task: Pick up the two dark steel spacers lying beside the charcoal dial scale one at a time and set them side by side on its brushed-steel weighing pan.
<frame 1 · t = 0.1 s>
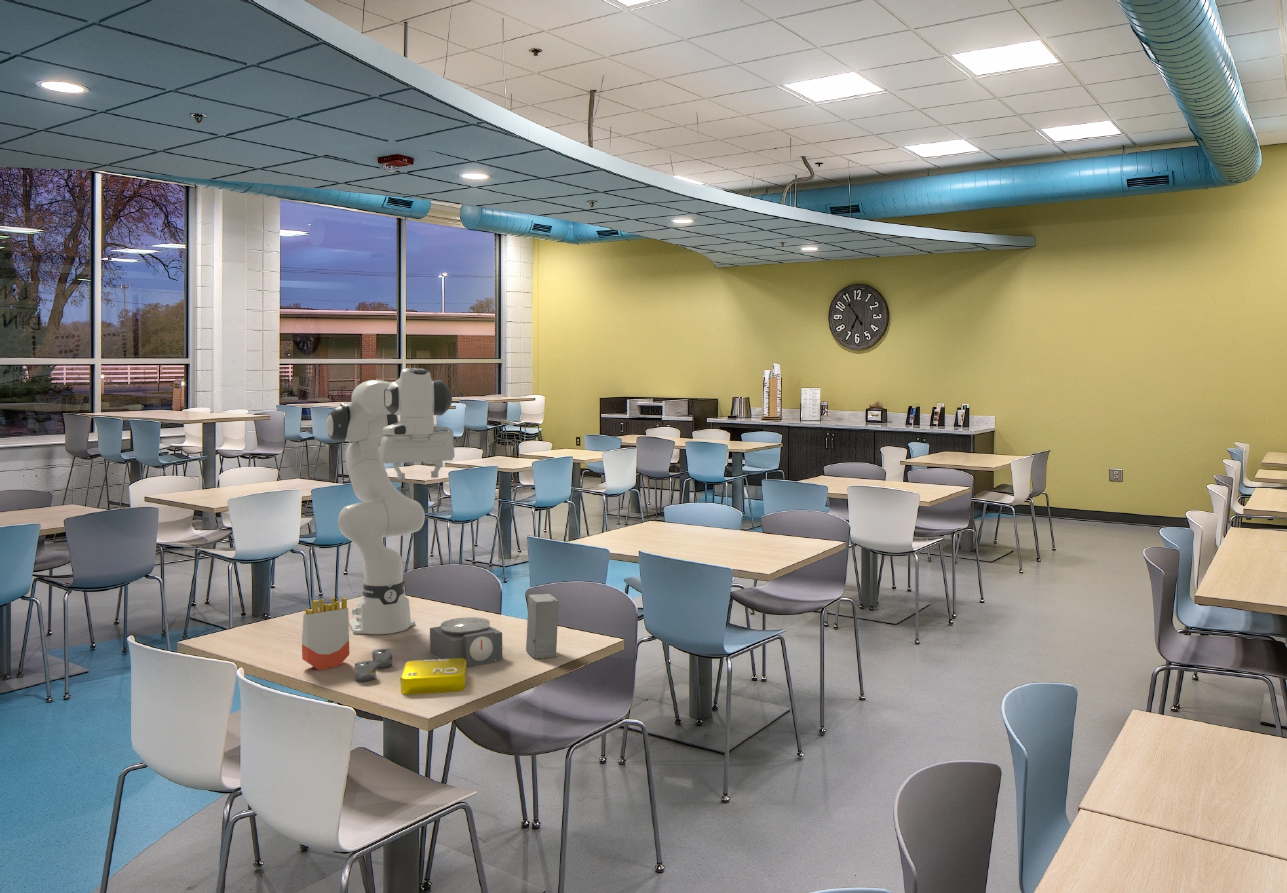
hand: (418, 478, 242), 48 cm above the table, tool pointing down, fingers open, 8 cm apart
skincare box: (542, 655, 242), on the table
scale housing: (466, 655, 241), on the table
scale pan: (465, 625, 241), point 8 cm above the table, slide at -0.5 cm
spacer 2: (382, 666, 232), on the table
spacer 1: (365, 679, 222), on the table
element tile: (434, 685, 218), on the table
french fries container: (326, 666, 233), on the table
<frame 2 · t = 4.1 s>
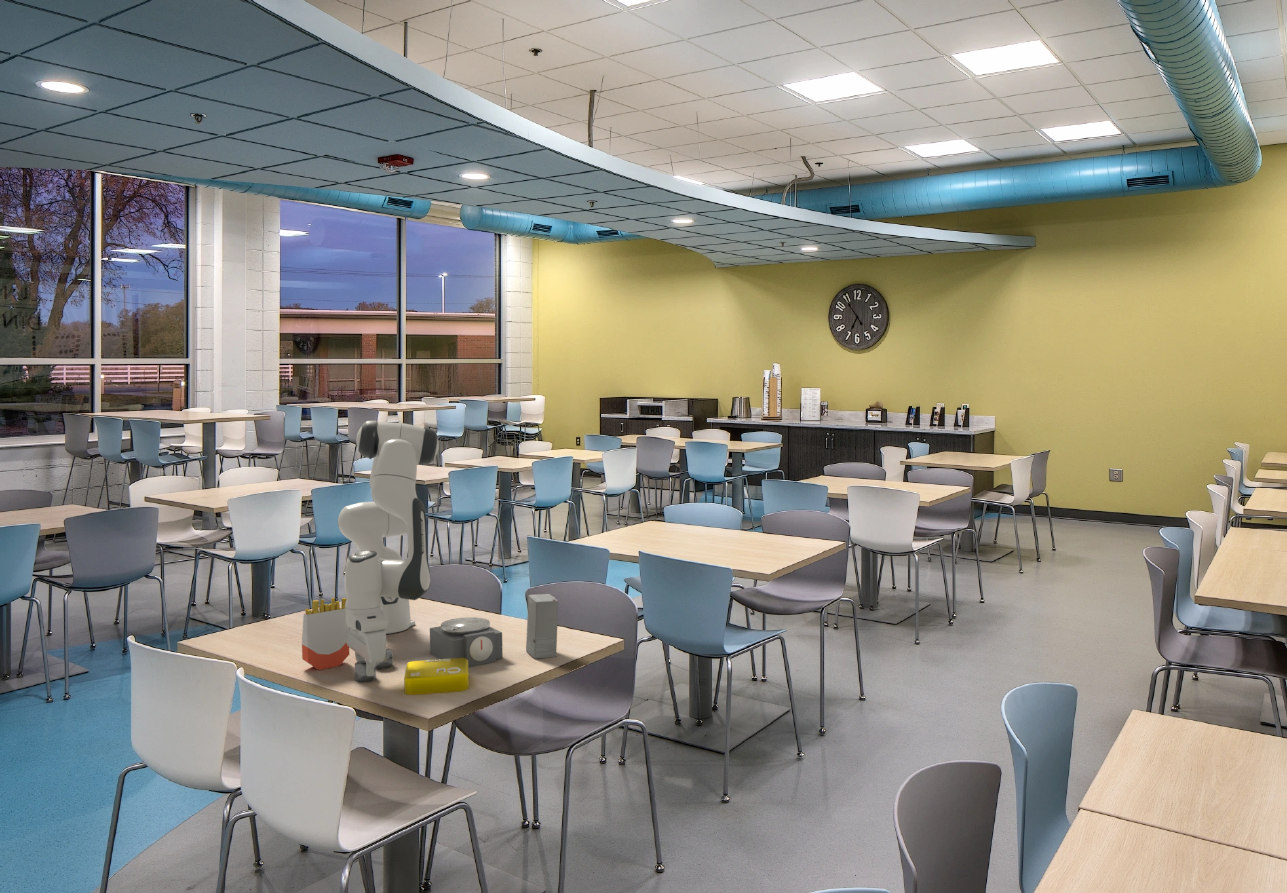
hand: (365, 672, 222), 2 cm above the table, tool pointing down, fingers closed on spacer 1, 5 cm apart
spacer 1: (365, 679, 222), on the table, touching gripper
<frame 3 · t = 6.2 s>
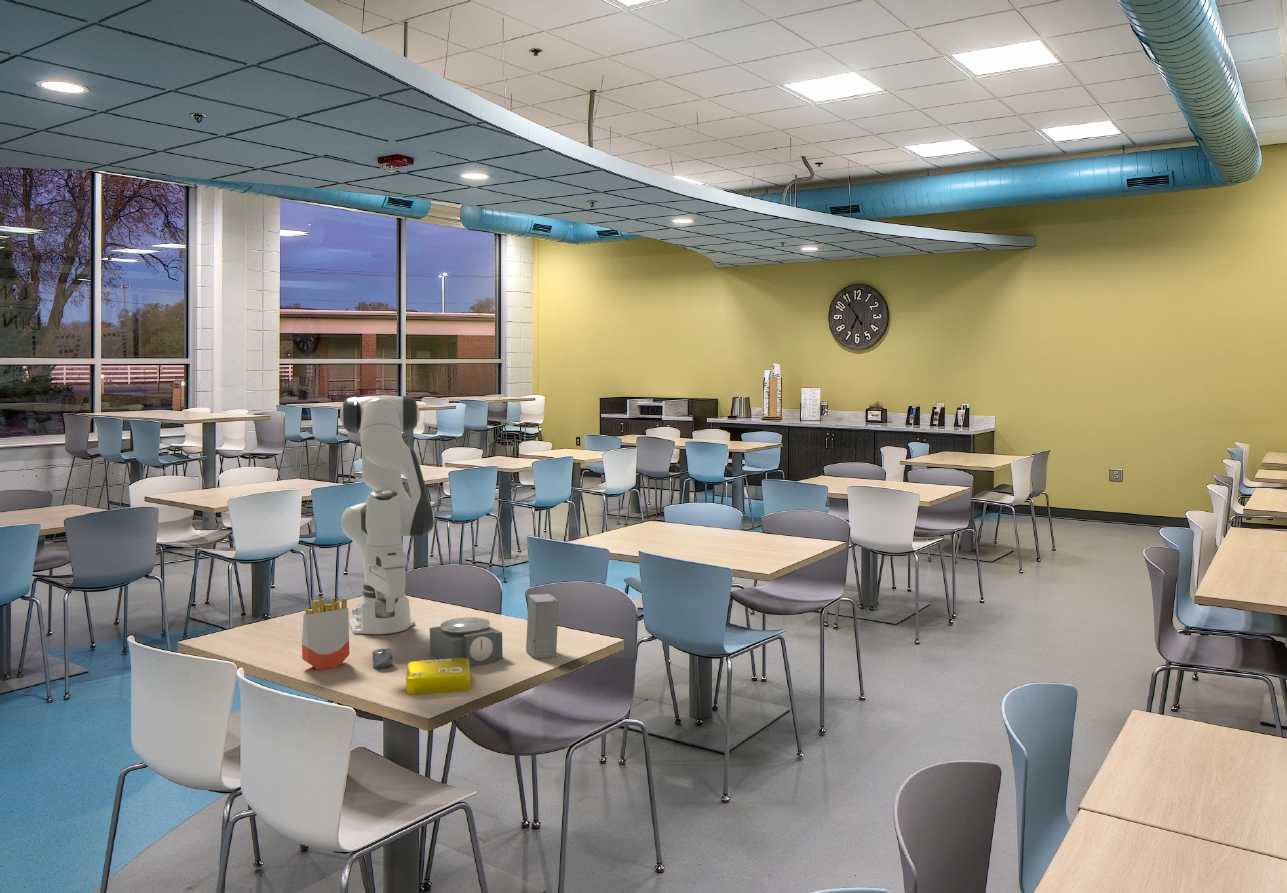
hand: (385, 609, 225), 16 cm above the table, tool pointing down, fingers closed on spacer 1, 5 cm apart
spacer 1: (385, 615, 225), point 15 cm above the table, touching gripper
when the fingers open (12 cm above the table, at t = 8.5 s): spacer 1 drops 2 cm, resting on scale pan.
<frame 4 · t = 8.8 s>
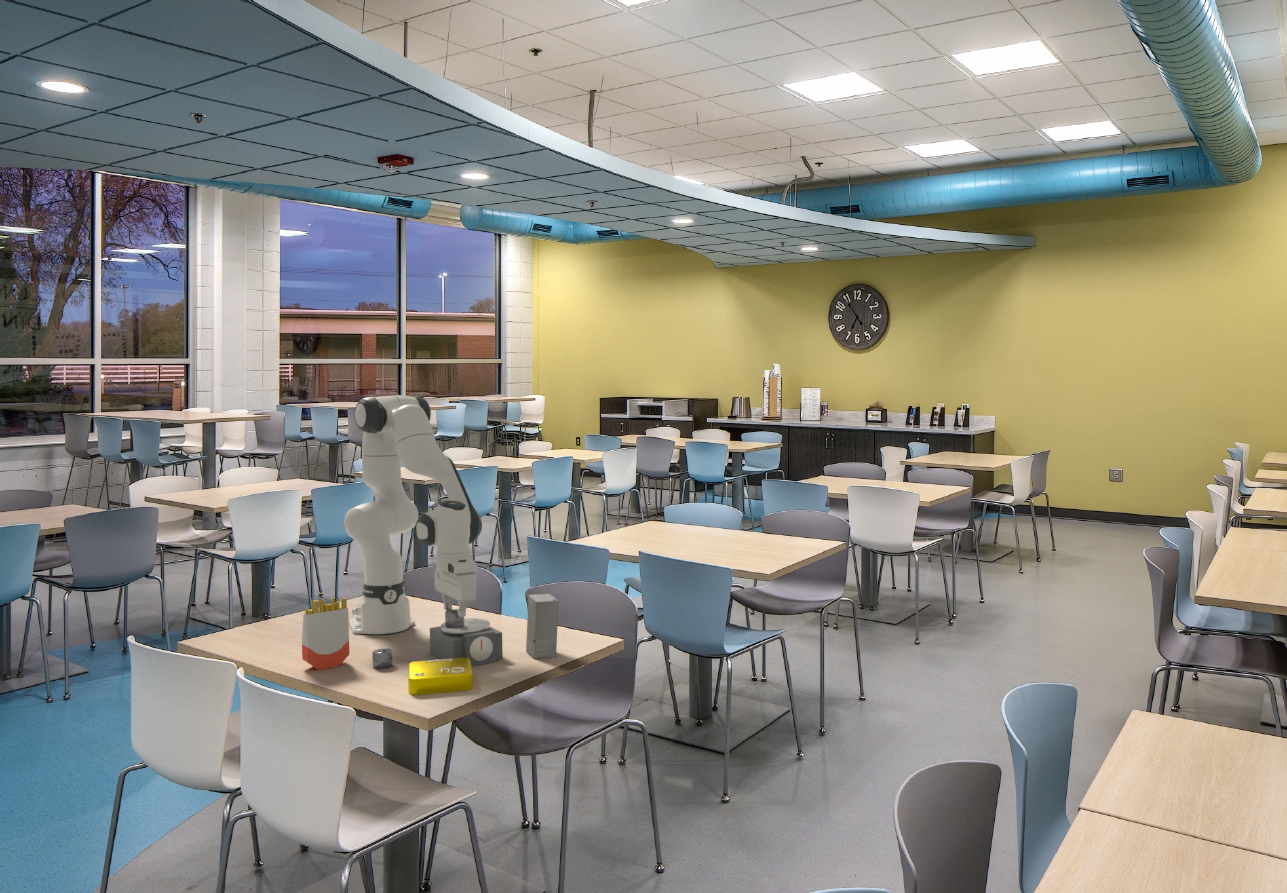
hand: (454, 613, 239), 12 cm above the table, tool pointing down, fingers open, 8 cm apart
scale pan: (465, 626, 241), point 8 cm above the table, slide at -0.8 cm, touching spacer 1
spacer 1: (454, 626, 239), point 9 cm above the table, touching scale pan
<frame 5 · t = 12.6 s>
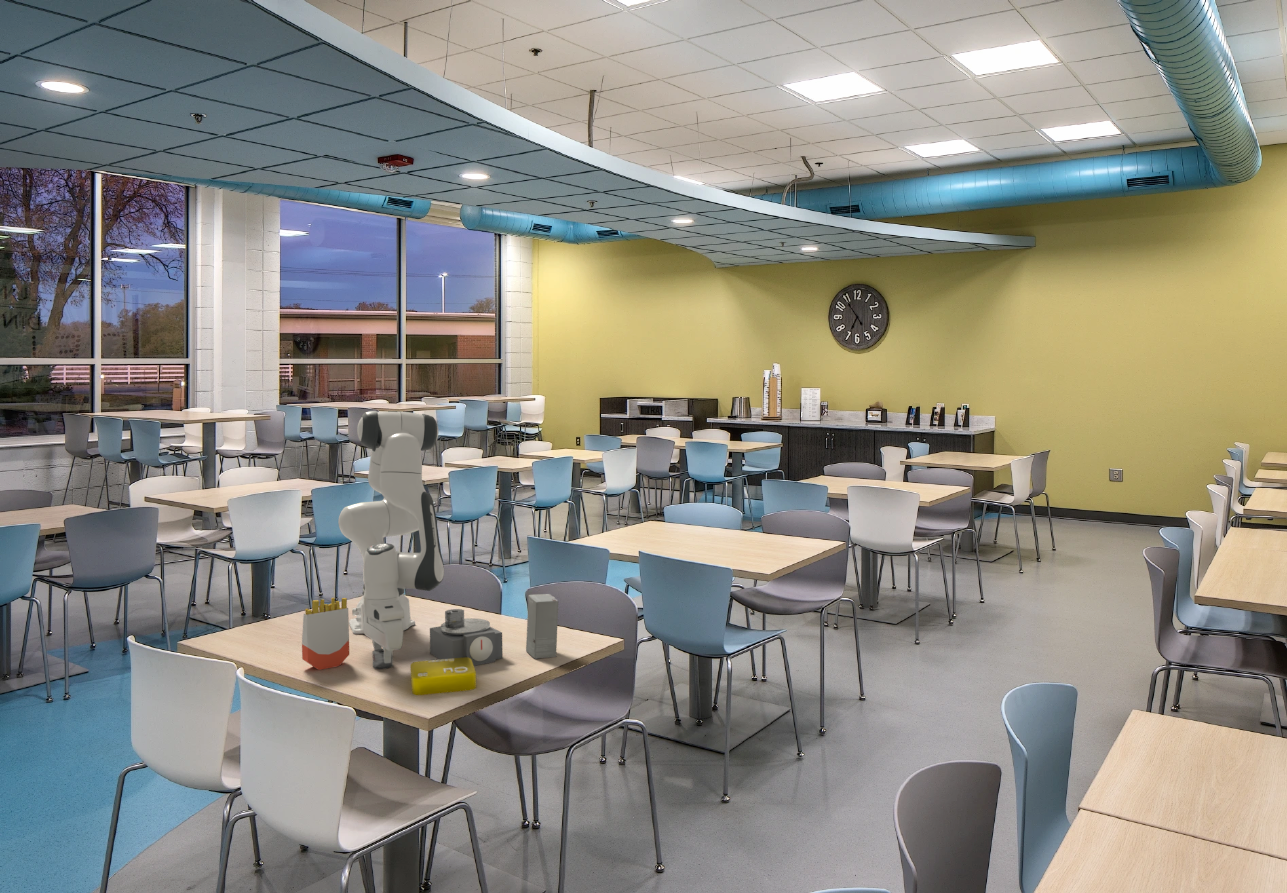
hand: (382, 659, 232), 2 cm above the table, tool pointing down, fingers closed on spacer 2, 5 cm apart
spacer 2: (382, 666, 232), on the table, touching gripper
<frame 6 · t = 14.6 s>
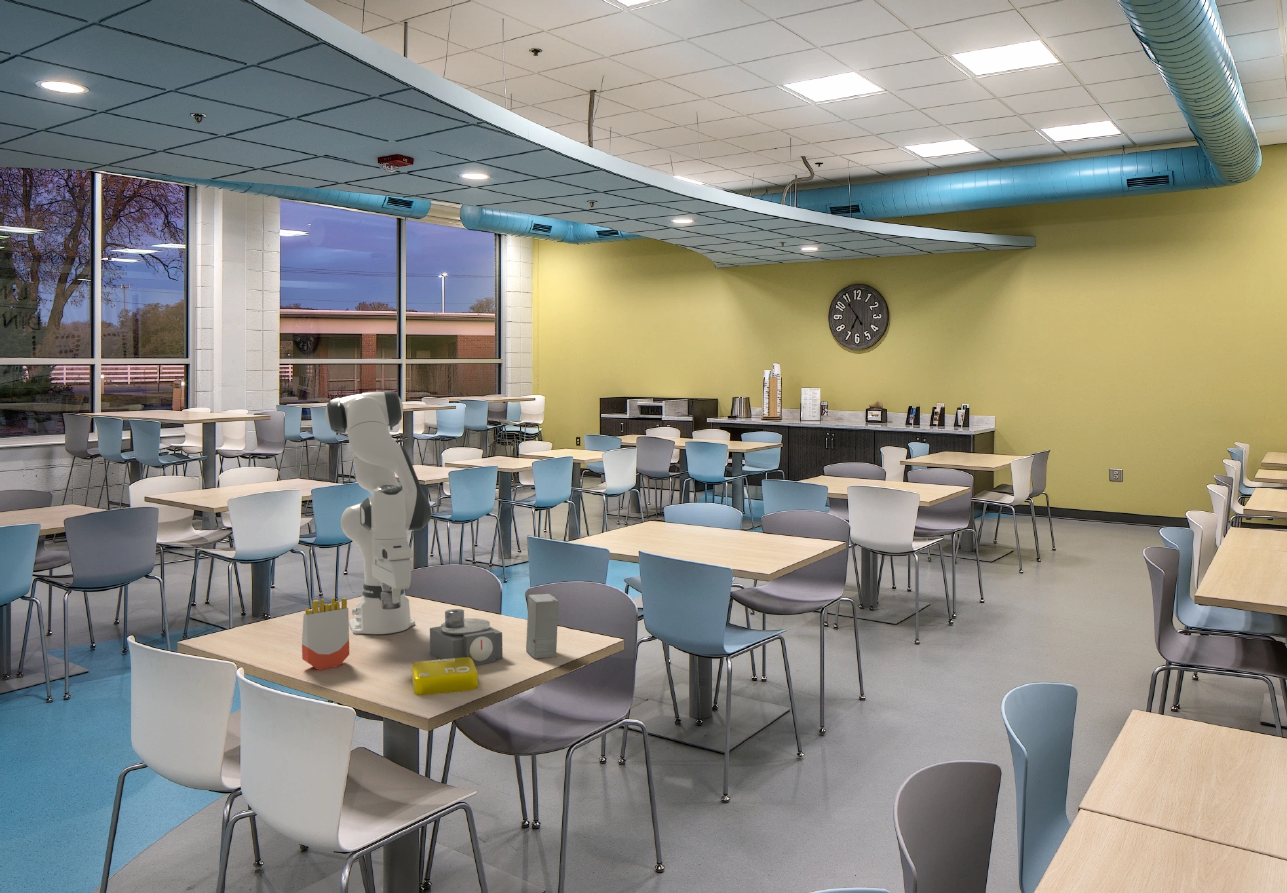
hand: (391, 600, 233), 17 cm above the table, tool pointing down, fingers closed on spacer 2, 5 cm apart
spacer 2: (391, 607, 233), point 15 cm above the table, touching gripper
when the fingers open (12 cm above the table, at t = 17.0 s): spacer 2 drops 2 cm, resting on scale pan.
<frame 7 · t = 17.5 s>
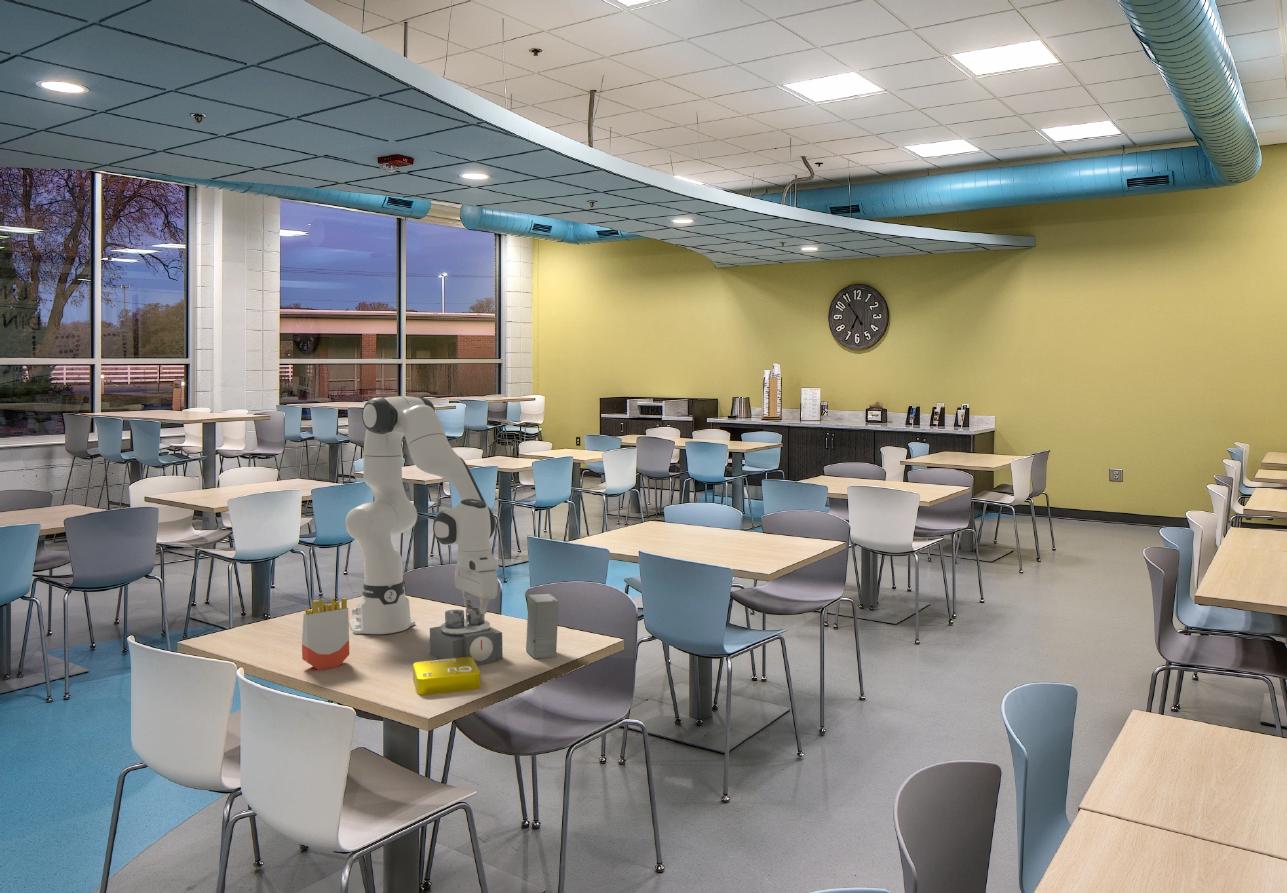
hand: (475, 610, 242), 12 cm above the table, tool pointing down, fingers open, 8 cm apart
scale pan: (465, 627, 241), point 8 cm above the table, slide at -0.9 cm, touching spacer 1, spacer 2
spacer 2: (475, 623, 243), point 8 cm above the table, touching scale pan
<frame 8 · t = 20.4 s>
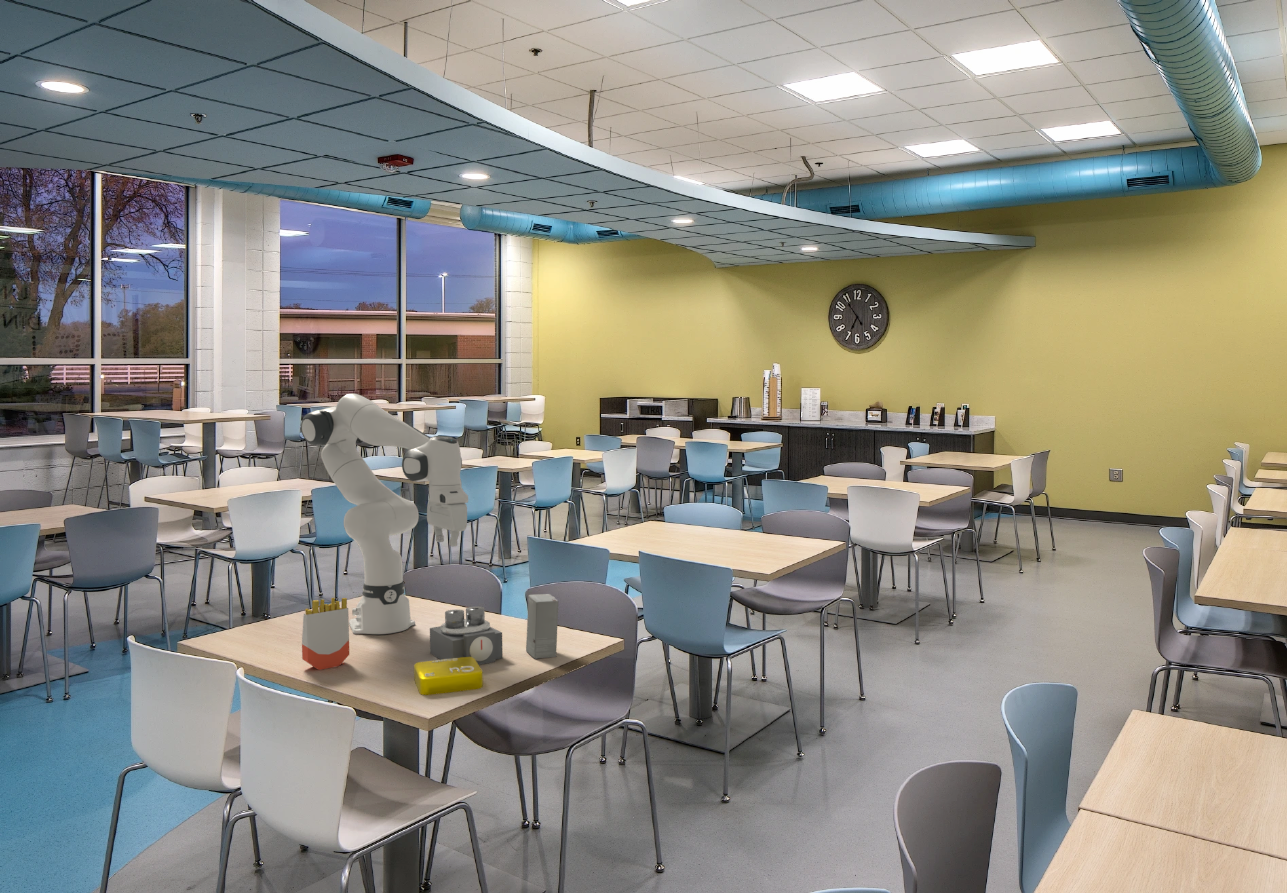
hand: (446, 543, 248), 29 cm above the table, tool pointing down, fingers open, 8 cm apart
at the end: spacer 1 inside the target area on the scale pan (0.1 cm from its centre), point 9.4 cm above the scale pan's base; spacer 2 inside the target area on the scale pan (0.1 cm from its centre), point 9.4 cm above the scale pan's base; the gripper is holding nothing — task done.
